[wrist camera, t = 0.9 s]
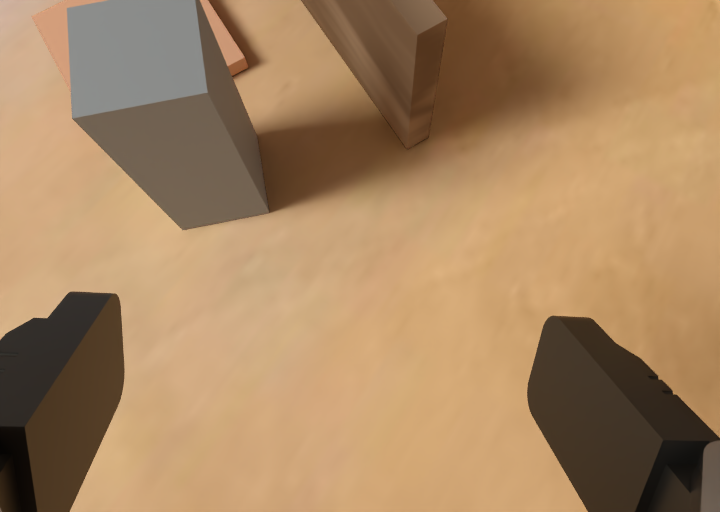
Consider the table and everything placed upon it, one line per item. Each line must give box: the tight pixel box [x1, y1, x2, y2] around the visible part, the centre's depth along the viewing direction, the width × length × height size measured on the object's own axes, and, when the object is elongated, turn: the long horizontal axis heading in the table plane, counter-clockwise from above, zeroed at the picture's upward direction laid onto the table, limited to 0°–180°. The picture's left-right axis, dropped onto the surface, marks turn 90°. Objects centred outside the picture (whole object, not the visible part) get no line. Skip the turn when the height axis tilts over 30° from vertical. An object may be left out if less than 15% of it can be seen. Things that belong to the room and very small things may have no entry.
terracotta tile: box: [32, 0, 248, 92], centre depth 35 cm, size 10×10×1 cm
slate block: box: [67, 0, 269, 230], centre depth 27 cm, size 5×5×12 cm
